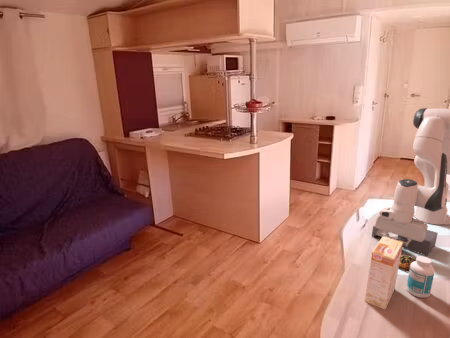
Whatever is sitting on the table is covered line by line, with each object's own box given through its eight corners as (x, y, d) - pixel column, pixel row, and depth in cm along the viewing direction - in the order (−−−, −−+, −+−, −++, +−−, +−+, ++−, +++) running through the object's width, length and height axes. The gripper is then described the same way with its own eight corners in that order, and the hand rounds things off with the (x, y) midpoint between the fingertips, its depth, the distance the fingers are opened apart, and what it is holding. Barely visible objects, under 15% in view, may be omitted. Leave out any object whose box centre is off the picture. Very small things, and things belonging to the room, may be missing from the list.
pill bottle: (422, 286, 117) (429, 254, 114) (433, 299, 110) (441, 266, 107) (402, 285, 118) (408, 253, 114) (411, 297, 111) (418, 264, 107)
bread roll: (425, 275, 124) (426, 264, 123) (394, 273, 128) (394, 262, 127) (419, 262, 134) (419, 251, 134) (390, 260, 138) (390, 250, 137)
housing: (404, 236, 157) (407, 224, 155) (434, 246, 148) (437, 232, 146) (396, 245, 148) (398, 232, 146) (427, 256, 139) (430, 241, 137)
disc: (392, 238, 147) (392, 235, 147) (406, 242, 143) (406, 239, 143) (387, 242, 143) (388, 239, 143) (402, 247, 139) (402, 243, 139)
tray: (380, 228, 165) (382, 219, 163) (408, 237, 156) (410, 227, 154) (371, 236, 156) (372, 226, 154) (399, 245, 147) (401, 235, 145)
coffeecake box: (374, 281, 120) (382, 235, 115) (395, 289, 115) (404, 241, 110) (363, 301, 108) (371, 251, 103) (385, 310, 104) (394, 258, 99)
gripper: (430, 220, 135) (424, 249, 138) (381, 207, 149) (376, 233, 152) (426, 224, 130) (420, 254, 134) (376, 210, 144) (371, 237, 148)
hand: (396, 243), depth 143 cm, fingers closed on disc, 6 cm apart
